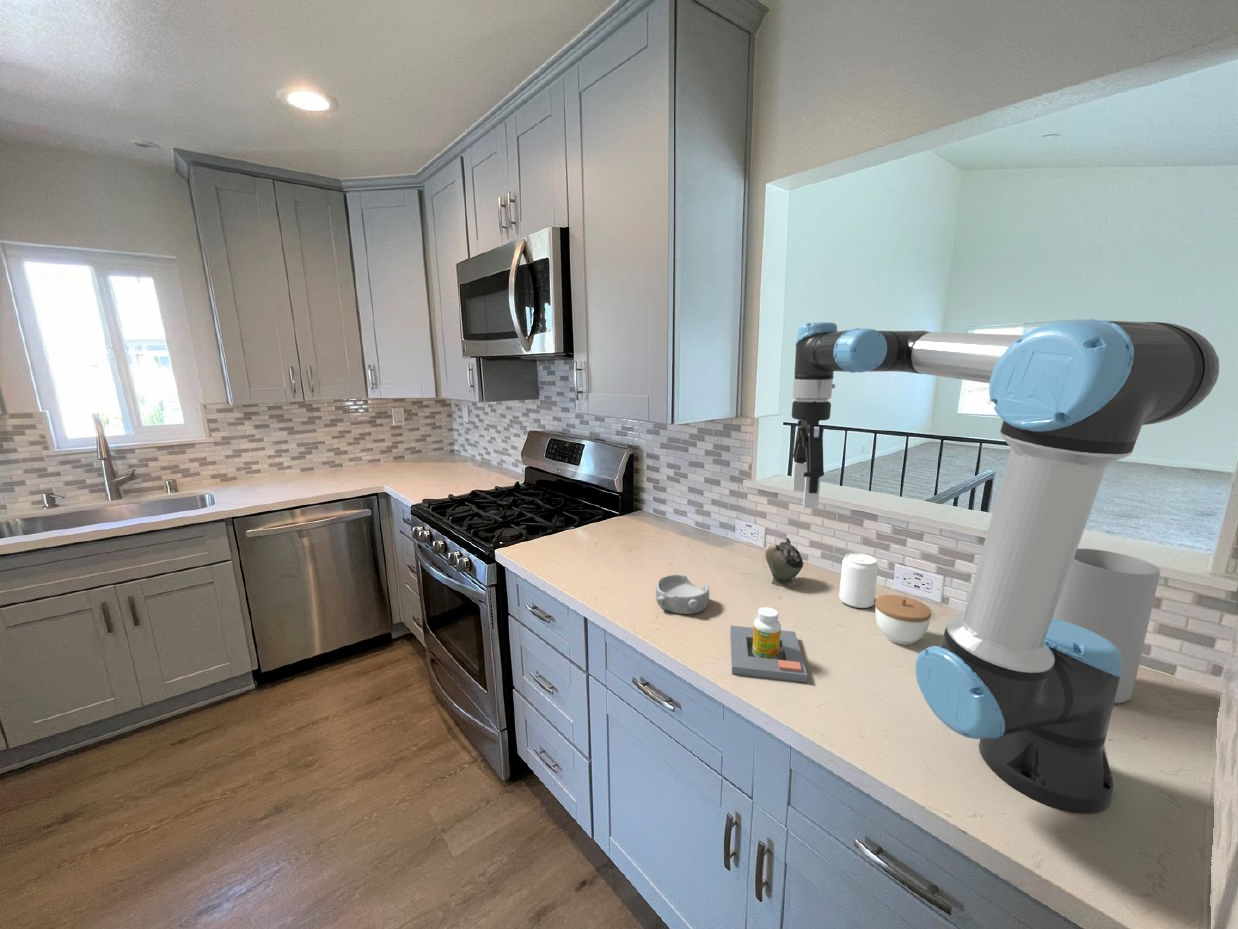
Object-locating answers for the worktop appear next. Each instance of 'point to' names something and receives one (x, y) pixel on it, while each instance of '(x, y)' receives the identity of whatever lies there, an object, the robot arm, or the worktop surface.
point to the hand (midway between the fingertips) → (804, 499)
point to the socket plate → (780, 668)
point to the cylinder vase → (1111, 604)
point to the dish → (681, 595)
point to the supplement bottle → (766, 634)
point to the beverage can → (858, 580)
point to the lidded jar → (902, 618)
